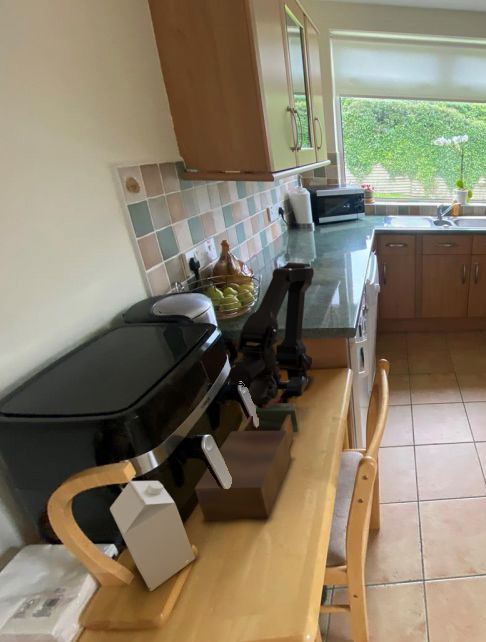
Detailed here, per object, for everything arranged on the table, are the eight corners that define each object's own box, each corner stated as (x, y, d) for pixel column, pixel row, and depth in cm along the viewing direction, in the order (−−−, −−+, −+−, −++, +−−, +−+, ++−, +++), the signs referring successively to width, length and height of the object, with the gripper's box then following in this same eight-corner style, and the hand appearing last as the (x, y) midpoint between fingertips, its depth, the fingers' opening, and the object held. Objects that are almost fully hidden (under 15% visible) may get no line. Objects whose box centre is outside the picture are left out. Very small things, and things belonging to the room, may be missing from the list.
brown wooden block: (238, 460, 90) (231, 431, 86) (291, 459, 90) (286, 430, 87) (205, 520, 76) (194, 488, 72) (268, 519, 76) (260, 487, 72)
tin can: (268, 408, 107) (265, 392, 105) (286, 408, 108) (283, 392, 105) (262, 420, 103) (258, 404, 101) (280, 420, 103) (277, 404, 101)
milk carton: (151, 592, 63) (115, 516, 56) (136, 566, 67) (101, 491, 60) (195, 559, 69) (168, 485, 61) (179, 536, 72) (152, 463, 65)
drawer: (262, 417, 102) (258, 396, 99) (304, 417, 103) (301, 395, 100) (230, 474, 85) (224, 450, 82) (281, 473, 85) (276, 449, 82)
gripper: (214, 382, 91) (227, 432, 97) (291, 382, 92) (299, 431, 98) (234, 358, 101) (245, 404, 107) (304, 358, 102) (310, 403, 108)
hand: (274, 411), depth 105 cm, fingers open, 6 cm apart
